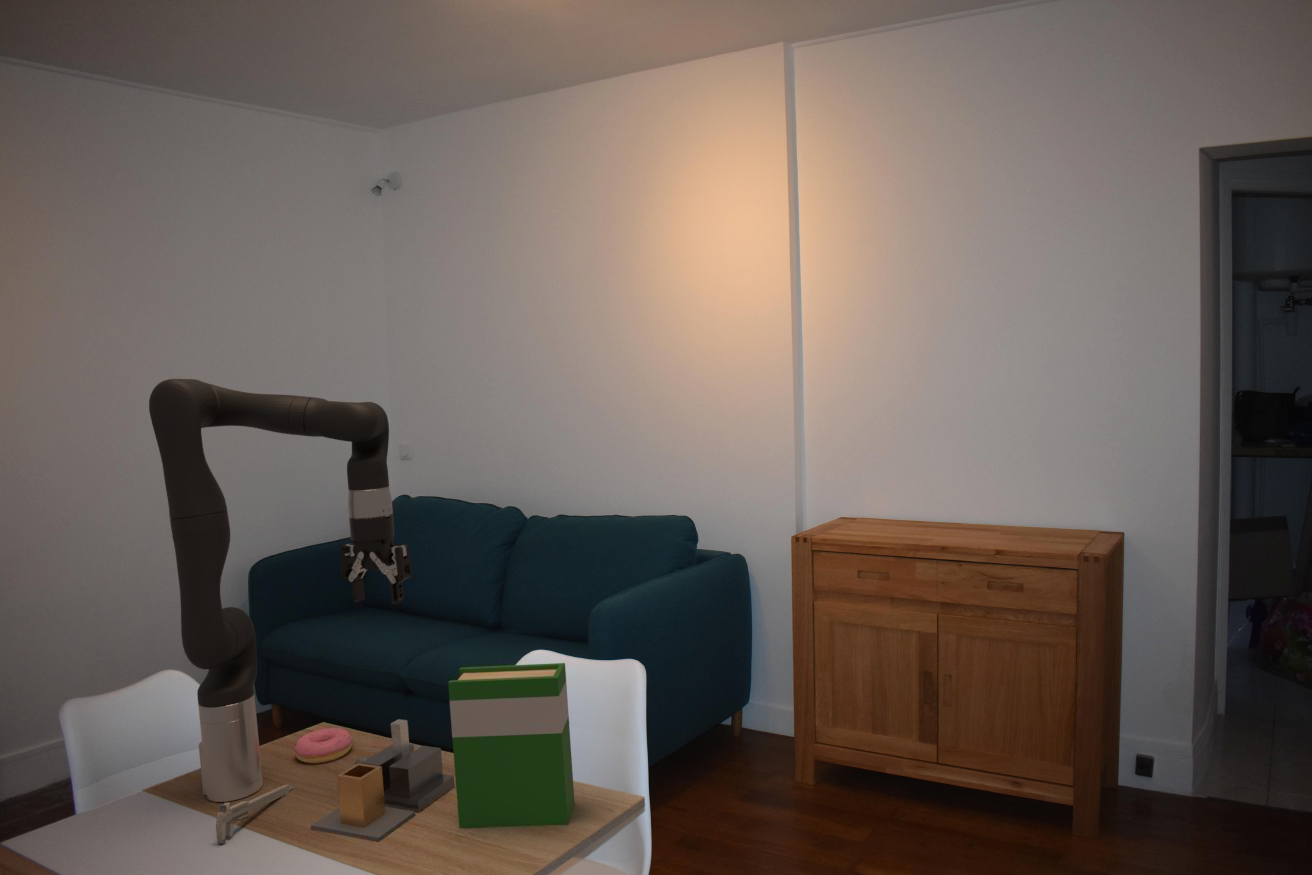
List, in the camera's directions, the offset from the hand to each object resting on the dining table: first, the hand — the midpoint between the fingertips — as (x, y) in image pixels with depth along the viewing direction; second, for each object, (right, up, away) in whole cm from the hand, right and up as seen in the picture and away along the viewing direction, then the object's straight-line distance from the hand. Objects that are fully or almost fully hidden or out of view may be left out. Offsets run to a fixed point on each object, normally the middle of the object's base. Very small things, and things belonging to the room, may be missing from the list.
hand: (378, 601), depth 163 cm
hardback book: (+27, -33, -15) cm, 45 cm away
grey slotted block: (+5, -33, -3) cm, 34 cm away
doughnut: (-16, -34, +16) cm, 41 cm away
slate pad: (+2, -34, -14) cm, 37 cm away
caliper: (-18, -35, -8) cm, 41 cm away
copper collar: (+2, -33, -14) cm, 36 cm away
